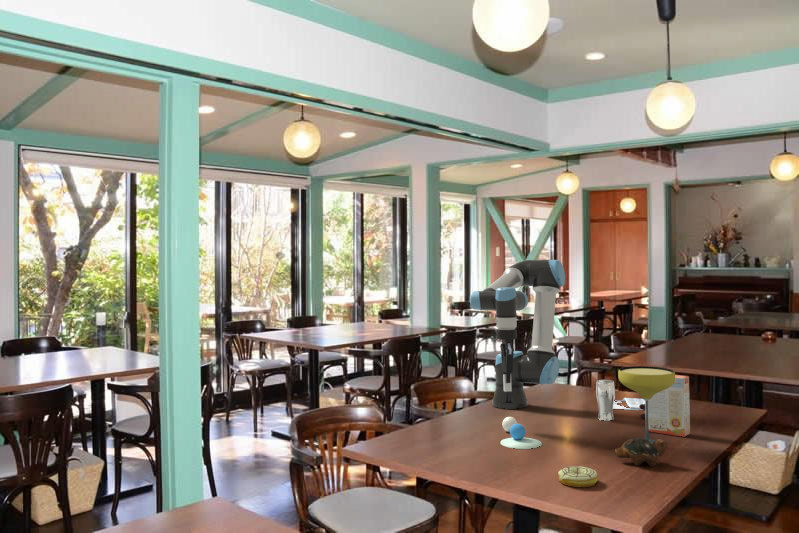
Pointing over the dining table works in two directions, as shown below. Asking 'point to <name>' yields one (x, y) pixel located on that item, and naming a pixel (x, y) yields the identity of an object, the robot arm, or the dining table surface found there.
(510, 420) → the white cue ball
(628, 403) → the snack bag
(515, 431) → the blue object ball
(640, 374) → the cocktail glass
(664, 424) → the cracker box
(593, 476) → the decorated donut
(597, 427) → the dining table surface
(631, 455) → the decorative turtle
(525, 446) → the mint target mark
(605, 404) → the beer glass
